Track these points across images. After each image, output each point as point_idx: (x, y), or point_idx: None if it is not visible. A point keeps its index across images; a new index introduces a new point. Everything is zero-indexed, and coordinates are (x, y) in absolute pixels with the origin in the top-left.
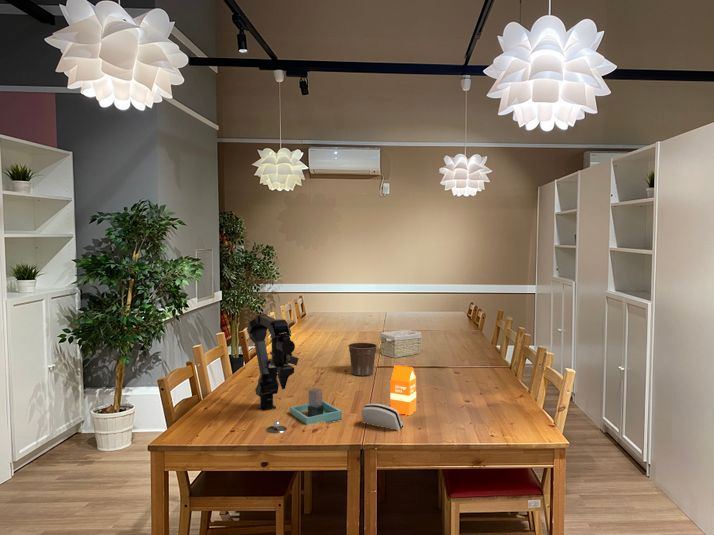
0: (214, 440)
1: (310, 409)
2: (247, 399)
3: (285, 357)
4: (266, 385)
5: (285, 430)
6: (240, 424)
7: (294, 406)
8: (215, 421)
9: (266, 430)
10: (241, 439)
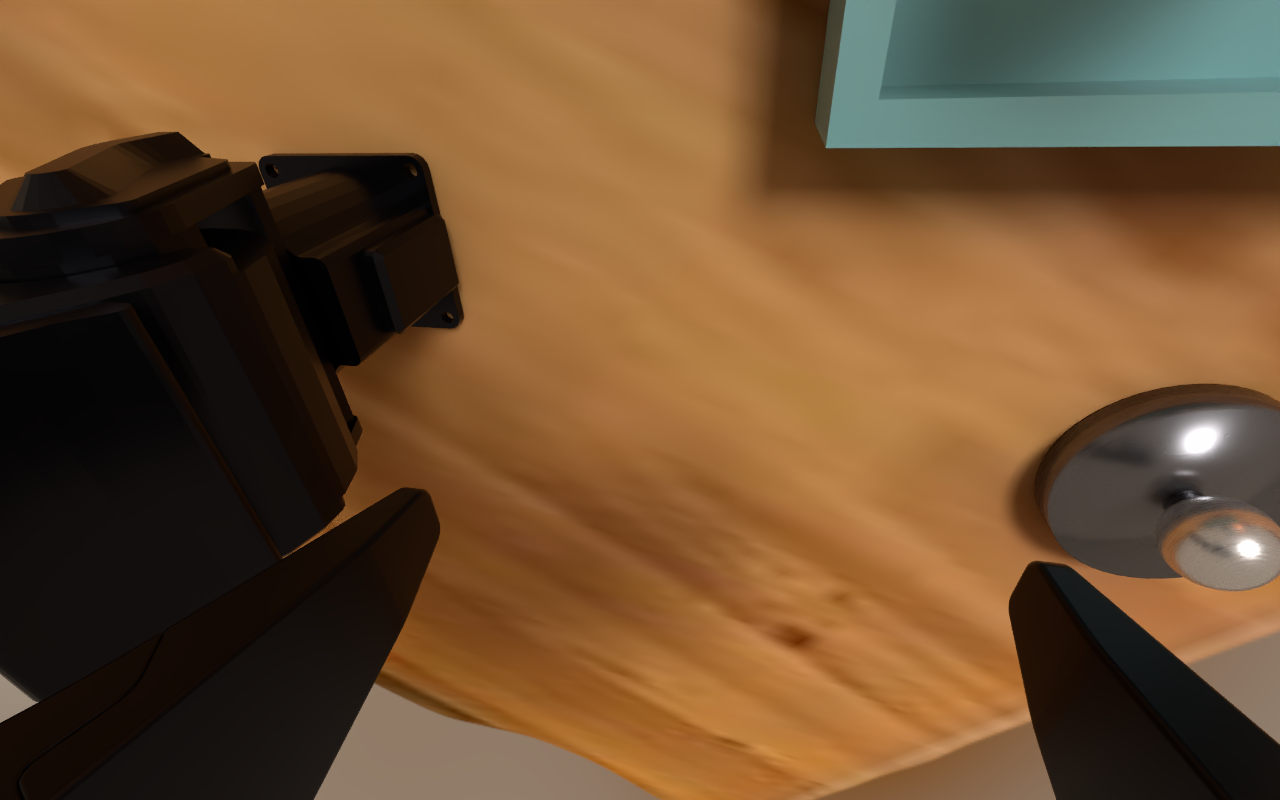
0: (872, 735)
1: None
2: None
3: None
4: (288, 494)
5: None
6: (707, 568)
7: (848, 46)
8: (559, 630)
9: (1107, 569)
10: (999, 668)
